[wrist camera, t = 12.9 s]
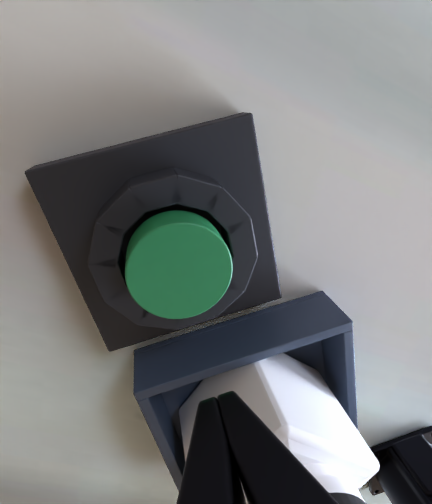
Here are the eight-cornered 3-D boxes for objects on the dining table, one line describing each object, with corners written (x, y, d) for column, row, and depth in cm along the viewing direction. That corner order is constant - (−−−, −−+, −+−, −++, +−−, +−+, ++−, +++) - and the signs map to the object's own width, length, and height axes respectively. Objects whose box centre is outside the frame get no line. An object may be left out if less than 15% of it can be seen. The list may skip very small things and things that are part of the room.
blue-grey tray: (333, 409, 26) (359, 449, 23) (182, 462, 25) (188, 512, 22) (322, 290, 21) (353, 321, 18) (133, 349, 20) (133, 393, 17)
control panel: (273, 286, 20) (295, 315, 18) (110, 336, 20) (106, 376, 17) (243, 111, 16) (266, 114, 13) (32, 165, 15) (8, 180, 12)
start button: (232, 283, 16) (242, 301, 15) (143, 310, 16) (144, 332, 14) (212, 197, 15) (221, 209, 13) (111, 225, 14) (108, 241, 13)
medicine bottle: (176, 408, 22) (211, 694, 12) (241, 329, 21) (351, 572, 10) (256, 437, 25) (344, 688, 14) (318, 369, 24) (469, 592, 13)
